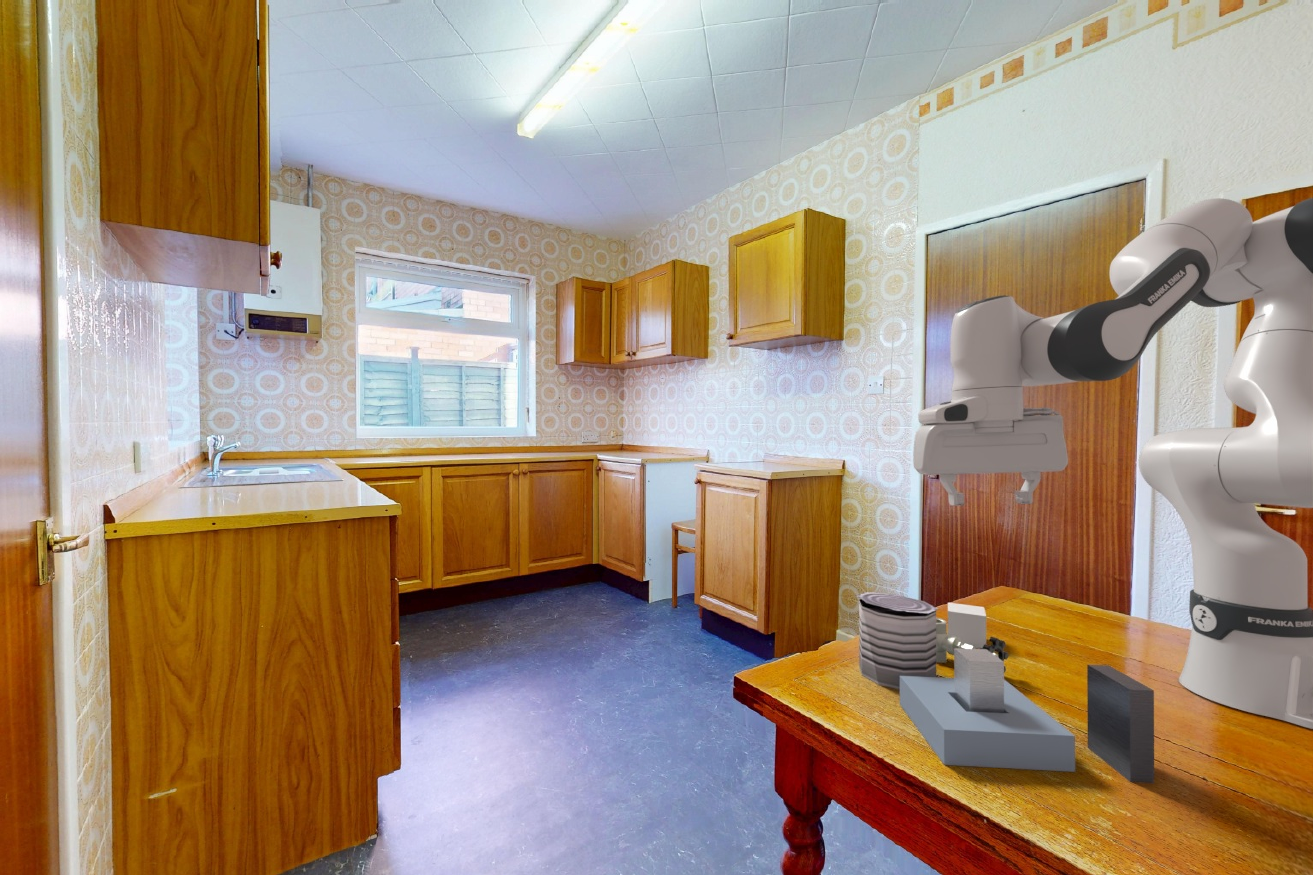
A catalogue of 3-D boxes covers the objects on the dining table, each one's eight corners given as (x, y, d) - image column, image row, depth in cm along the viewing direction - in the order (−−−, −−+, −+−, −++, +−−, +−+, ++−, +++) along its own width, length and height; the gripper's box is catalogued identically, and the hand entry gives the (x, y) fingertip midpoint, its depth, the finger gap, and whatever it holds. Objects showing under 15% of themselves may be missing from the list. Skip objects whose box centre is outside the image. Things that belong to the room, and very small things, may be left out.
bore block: (1005, 709, 74) (1005, 679, 74) (1075, 771, 60) (1075, 735, 60) (899, 704, 75) (899, 675, 75) (944, 764, 61) (944, 729, 61)
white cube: (986, 650, 95) (986, 616, 95) (947, 643, 98) (947, 611, 98) (984, 638, 100) (984, 606, 100) (947, 633, 103) (947, 602, 103)
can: (846, 660, 90) (846, 589, 90) (911, 658, 91) (911, 588, 91) (879, 692, 78) (878, 610, 78) (953, 690, 79) (953, 609, 79)
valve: (912, 659, 91) (986, 686, 81) (912, 620, 91) (986, 642, 81) (934, 651, 94) (1008, 676, 84) (934, 613, 94) (1008, 634, 84)
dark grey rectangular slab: (1108, 748, 64) (1108, 665, 64) (1154, 783, 58) (1153, 690, 58) (1087, 747, 64) (1087, 664, 64) (1130, 781, 58) (1129, 689, 58)
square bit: (986, 726, 69) (986, 649, 69) (1004, 744, 65) (1003, 661, 65) (954, 725, 69) (954, 648, 69) (970, 742, 65) (969, 660, 65)
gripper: (1047, 408, 80) (1050, 499, 80) (907, 413, 82) (910, 503, 82) (1077, 405, 74) (1080, 505, 74) (925, 411, 76) (928, 508, 76)
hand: (990, 504), depth 78 cm, fingers open, 8 cm apart
